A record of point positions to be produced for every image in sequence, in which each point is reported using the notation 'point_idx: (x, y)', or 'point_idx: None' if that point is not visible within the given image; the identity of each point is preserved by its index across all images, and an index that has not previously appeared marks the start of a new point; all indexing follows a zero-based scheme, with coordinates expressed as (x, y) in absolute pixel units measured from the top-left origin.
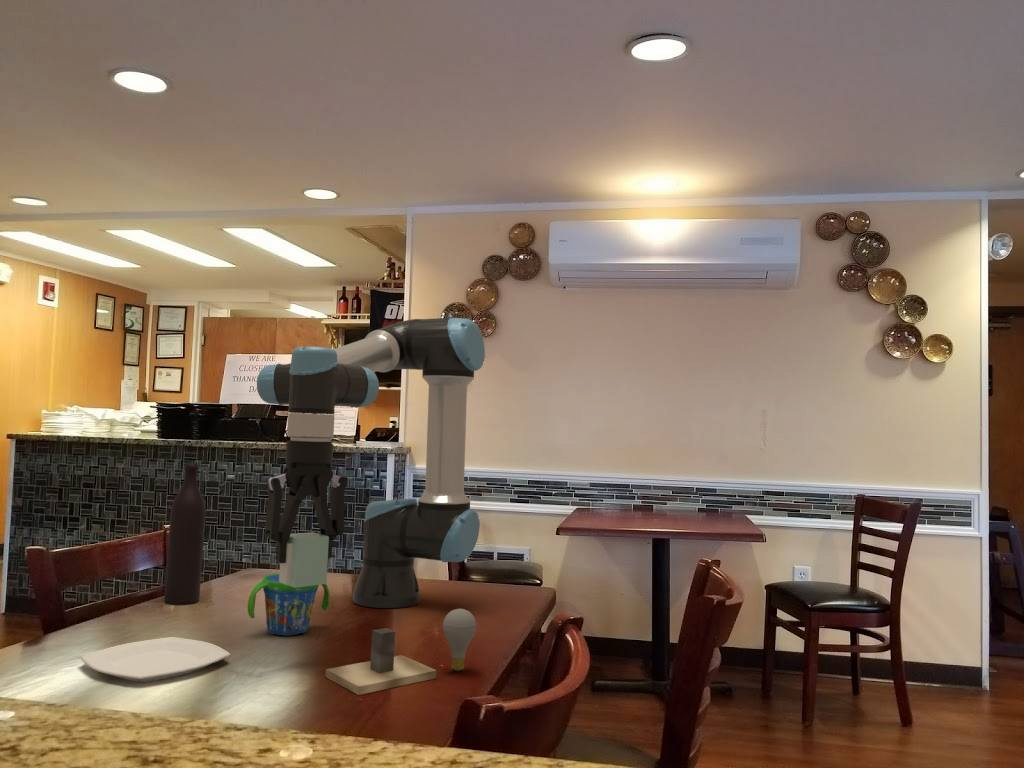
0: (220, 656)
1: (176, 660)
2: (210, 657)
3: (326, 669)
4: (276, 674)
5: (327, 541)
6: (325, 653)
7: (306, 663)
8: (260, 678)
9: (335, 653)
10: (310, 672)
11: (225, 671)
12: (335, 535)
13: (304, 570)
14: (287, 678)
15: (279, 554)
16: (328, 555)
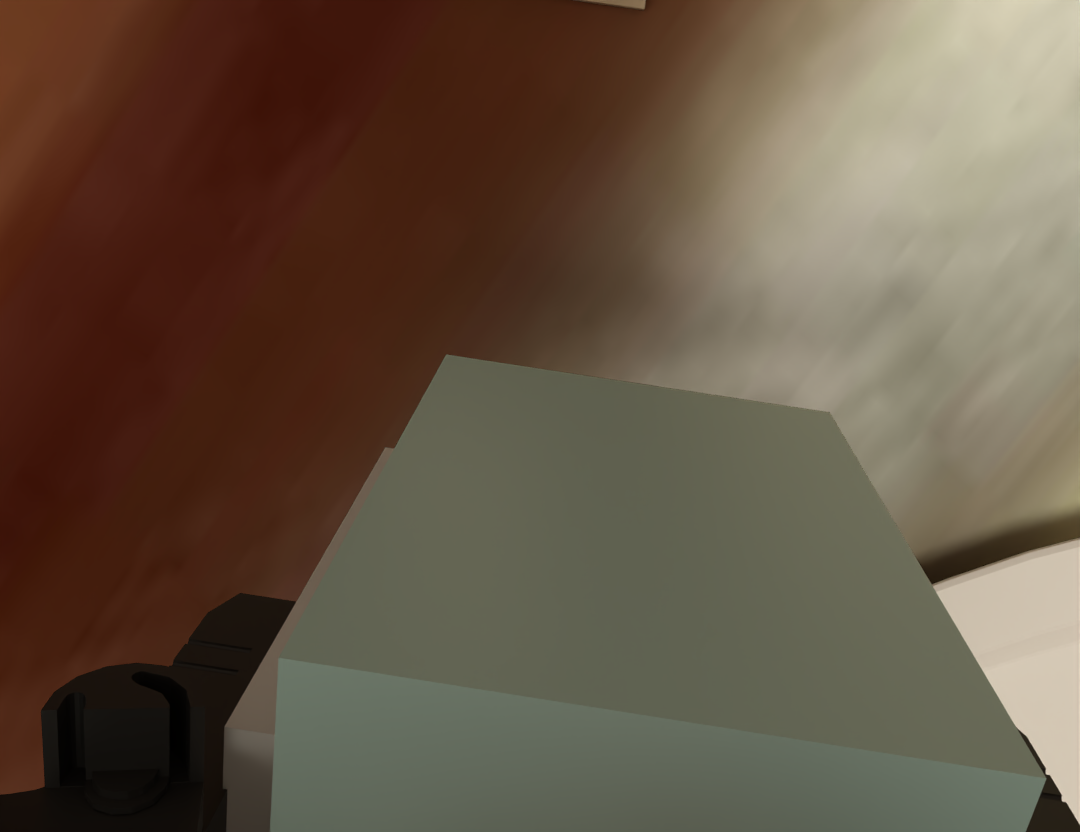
0: (956, 596)
1: (1058, 751)
2: (1007, 612)
3: (644, 3)
4: (815, 257)
5: (334, 605)
6: (370, 403)
7: (564, 317)
8: (925, 255)
9: (324, 366)
10: (651, 156)
11: (972, 483)
12: (46, 733)
13: (744, 464)
14: (819, 150)
15: (1057, 797)
16: (259, 621)
